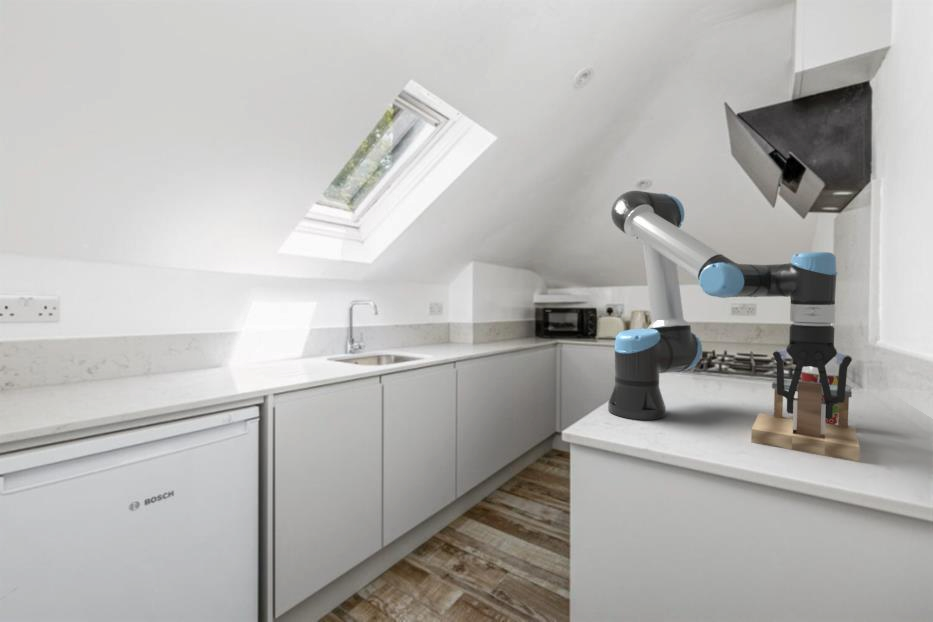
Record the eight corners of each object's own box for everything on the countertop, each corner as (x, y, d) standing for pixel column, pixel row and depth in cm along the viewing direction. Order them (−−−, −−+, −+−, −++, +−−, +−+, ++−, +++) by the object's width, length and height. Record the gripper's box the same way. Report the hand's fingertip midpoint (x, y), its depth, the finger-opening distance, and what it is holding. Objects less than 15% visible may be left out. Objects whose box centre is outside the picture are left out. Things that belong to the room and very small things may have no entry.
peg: (797, 433, 96) (798, 380, 95) (820, 437, 93) (821, 383, 92) (796, 438, 92) (797, 383, 92) (820, 442, 90) (821, 386, 89)
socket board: (751, 441, 96) (752, 388, 95) (758, 424, 108) (759, 377, 108) (859, 461, 84) (861, 401, 84) (854, 440, 96) (855, 387, 96)
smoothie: (843, 432, 102) (845, 349, 101) (799, 425, 107) (801, 347, 106) (839, 423, 109) (842, 346, 108) (798, 417, 114) (800, 344, 113)
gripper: (762, 323, 94) (759, 426, 95) (867, 327, 83) (863, 443, 84) (765, 321, 100) (762, 419, 101) (863, 324, 89) (860, 434, 90)
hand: (808, 430), depth 93 cm, fingers closed on peg, 4 cm apart
